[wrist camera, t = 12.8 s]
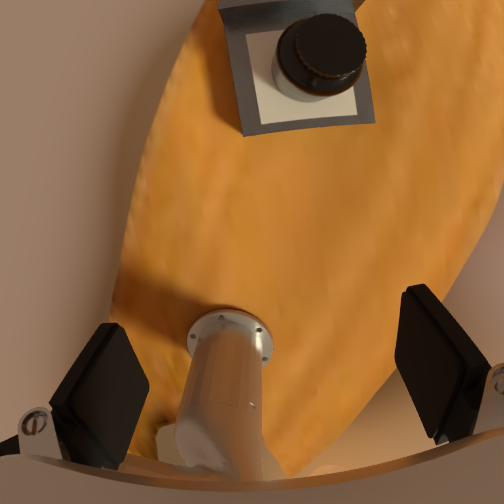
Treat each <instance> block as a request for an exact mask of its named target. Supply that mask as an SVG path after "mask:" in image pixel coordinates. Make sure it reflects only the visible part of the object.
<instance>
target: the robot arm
mask: <svg viewBox="0 0 504 504" xmlns="http://www.w3.org/2000/svg"><path fill="white" fill-rule="evenodd" d="M187 348H188V351H189V354H190V355H191V357H192V362H191V366H190V369H189V373H188V377H187V381H186V384H185V388H184V392H183V396H182V400H181V403H180V407H179V411H178V415H177V419H176V423H175V428H174V438H175V442H176V446H177V448H178V451H179V453H180V455H181V457H182V458H183V460H184V462H185V463H186V465H187V466H188V467H186V466H180V465H178V466H177V465H173V464H168V463H164V462H160V461H156V460H152V459H148V458H144V457H141V456H137V455H133V454H130V453H127V451H128V448H129V445H130V442H131V439H132V436H133V433H134V431H135V428H136V425H137V422H138V419H139V417H140V414H141V411H142V408H143V406H144V403H145V400H146V397H147V395H148V392H149V382H148V379H147V377H146V375H145V373H144V371H143V369H142V367H141V365H140V363H139V361H138V359H137V357H136V355H135V352H134V350H133V348H132V346H131V344H130V341H129V339H128V337H127V335H126V332H125V330H124V328H123V327H121V326H119V324H118V323H102V324H101V325H100V326H99V327H98V329H97V330H96V331H95V333H94V335H93V336H92V337H91V339H90V340H89V342H88V343H87V344H86V346H85V347H84V349H83V350H82V352H81V353H80V355H79V356H78V358H77V359H76V361H75V362H74V364H73V365H72V367H71V368H70V370H69V371H68V373H67V374H66V376H65V377H64V379H63V381H62V382H61V384H60V385H59V387H58V389H57V390H56V392H55V393H54V395H53V396H52V398H51V400H50V401H49V404H50V405H51V407H52V408H53V409H52V411H51V412H50V411H49V410H48V409H47V408H44V407H37V408H34V409H31V410H29V411H28V412H26V413H25V414H24V415H23V416H22V418H21V419H20V421H19V424H18V434H17V435H16V436H14V437H11V438H9V439H7V440H5V441H3V442H1V443H0V504H504V363H500V364H497V365H495V366H494V367H491V366H490V364H489V363H488V361H487V360H486V358H485V357H484V356H483V354H482V353H481V352H480V350H479V349H478V348H477V346H476V345H475V344H474V342H473V341H472V340H471V339H470V337H469V336H468V335H467V333H466V332H465V331H464V330H463V329H462V327H461V326H460V325H459V324H458V322H457V321H456V320H455V319H454V318H453V316H452V315H451V314H450V313H449V311H448V310H447V309H446V308H445V307H444V306H443V304H442V303H441V302H440V301H439V300H438V299H437V297H436V296H435V295H434V294H433V293H432V292H431V290H430V289H429V288H428V287H427V286H426V285H425V284H418V285H413V286H408V287H407V289H406V292H403V293H402V296H401V307H400V317H399V325H398V333H397V341H396V348H395V363H396V366H397V368H398V370H399V372H400V374H401V376H402V378H403V381H404V383H405V385H406V387H407V389H408V391H409V394H410V396H411V398H412V401H413V403H414V405H415V407H416V410H417V412H418V414H419V417H420V419H421V421H422V424H423V426H424V428H425V431H426V433H427V436H428V437H429V438H433V439H434V441H435V444H436V445H439V444H442V443H444V442H447V441H449V443H448V444H445V445H442V446H439V447H436V448H433V449H430V450H427V451H424V452H421V453H418V454H414V455H411V456H407V457H404V458H400V459H397V460H392V461H389V462H385V463H381V464H377V465H373V466H368V467H364V468H359V469H354V470H349V471H344V472H338V473H332V474H326V475H319V476H311V477H303V478H294V479H284V480H270V481H264V476H263V469H262V368H263V367H265V365H266V364H267V363H268V362H269V360H270V358H271V356H272V352H273V340H272V336H271V334H270V331H269V330H268V328H267V327H266V325H265V324H264V323H262V322H261V321H260V320H259V319H258V318H256V317H254V316H253V315H251V314H248V313H246V312H243V311H239V310H232V309H221V310H215V311H211V312H208V313H206V314H204V315H202V316H201V317H199V318H198V319H197V320H196V321H195V322H194V323H193V324H192V326H191V328H190V330H189V333H188V336H187Z"/></svg>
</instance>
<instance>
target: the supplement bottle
mask: <svg viewBox="0 0 504 504" xmlns="http://www.w3.org/2000/svg"><path fill="white" fill-rule="evenodd" d="M366 46H367V45H366V43H365V39H364V37H363V34H362V33H361V32H360V31H359V28H358V27H356V26H355V25H354V23H352V22H350V21H349V20H348V19H346V18H344V17H342V16H338V15H336V14H329V13H326V14H319V15H314V16H313V17H307V18H303V19H300V20H298V21H296V22H294V23H292V24H291V25H289V26H288V27H287V28H286V29H285V30H284V31H283V33H282V34H281V36H280V38H279V40H278V42H277V46H276V49H275V53H274V56H273V60H272V65H271V73H272V78H273V81H274V83H275V85H276V86H277V88H278V89H279V90H280V91H281V92H282V93H283V94H284V95H285V96H287V97H289V98H290V99H292V100H295V101H298V102H304V103H312V102H317V101H321V100H324V99H326V98H329V97H332V96H335V95H338V94H341V93H343V92H345V91H346V90H348V89H350V88H351V87H352V86H353V85H354V84H355V83H356V82H357V80H358V79H359V77H360V75H361V73H362V69H363V63H364V59H365V58H366V52H367V50H366Z"/></svg>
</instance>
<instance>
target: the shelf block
mask: <svg viewBox="0 0 504 504" xmlns="http://www.w3.org/2000/svg"><path fill="white" fill-rule="evenodd" d="M364 1H365V0H220V1H217V6H218V10H219V13H220V15H221V18H222V21H223V24H224V30H225V35H226V41H227V46H228V52H229V58H230V63H231V69H232V75H233V80H234V86H235V92H236V98H237V103H238V109H239V115H240V121H241V127H242V133H243V137H246V136H253V135H259V134H266V133H273V132H281V131H289V130H297V129H306V128H316V127H327V126H339V125H353V124H371V123H375V116H374V109H373V102H372V95H371V89H370V83H369V77H368V71H367V66H366V61H365V59H364V63H363V69H362V73H361V75H360V77H359V79H358V80H357V82H356V83H355V84H354V85H353V86H352V87H351V88H350V89H348V90H346V91H345V92H343V93H341V94H338V95H335V96H332V97H329V98H326V99H324V100H321V101H317V102H312V103H304V102H298V101H295V100H292V99H290V98H289V97H287V96H285V95H284V94H283V93H282V92H281V91H280V90H279V89H278V88H277V86H276V85H275V83H274V81H273V78H272V73H271V65H272V60H273V56H274V53H275V49H276V46H277V42H278V40H279V38H280V36H281V34H282V33H283V31H284V30H285V29H286V28H287V27H288V26H289V25H291V24H292V23H294V22H296V21H298V20H300V19H303V18H307V17H313V16H314V15H319V14H326V13H329V14H336V15H338V16H342V17H344V18H346V19H348V20H349V21H350V22H352V23H354V25H355V26H356V27H358V24H357V20H356V16H355V11H356V10H357V9H358V8H359V7H360V6H361V5H362V3H363V2H364Z"/></svg>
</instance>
